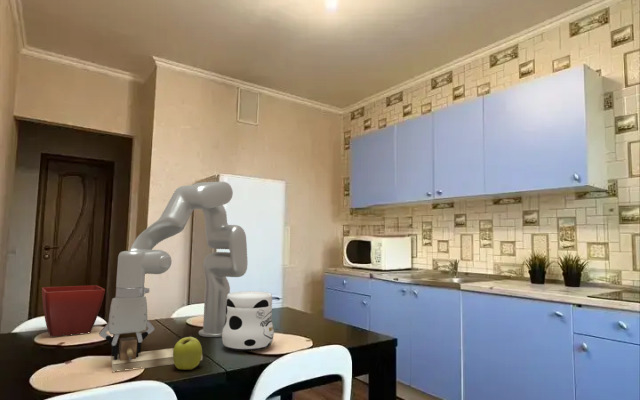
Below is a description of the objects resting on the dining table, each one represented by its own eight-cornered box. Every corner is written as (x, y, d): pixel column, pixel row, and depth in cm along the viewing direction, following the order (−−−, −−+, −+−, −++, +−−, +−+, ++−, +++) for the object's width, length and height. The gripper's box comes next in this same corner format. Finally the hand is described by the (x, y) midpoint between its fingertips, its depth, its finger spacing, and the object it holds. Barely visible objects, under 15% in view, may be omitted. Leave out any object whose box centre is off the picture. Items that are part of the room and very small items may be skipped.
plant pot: (93, 325, 163) (96, 284, 164) (102, 334, 148) (105, 289, 150) (37, 331, 151) (41, 287, 153) (40, 341, 136) (45, 292, 138)
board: (194, 352, 126) (194, 345, 126) (202, 360, 117) (202, 353, 117) (110, 362, 113) (111, 355, 114) (112, 372, 105) (113, 364, 105)
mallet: (133, 354, 115) (134, 336, 116) (138, 362, 107) (139, 344, 108) (118, 356, 113) (119, 338, 114) (121, 365, 105) (123, 346, 106)
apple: (192, 357, 116) (198, 326, 115) (203, 372, 110) (209, 339, 109) (165, 362, 111) (171, 330, 110) (175, 378, 105) (181, 344, 104)
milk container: (281, 351, 128) (282, 295, 130) (229, 358, 120) (232, 298, 122) (262, 339, 143) (264, 290, 145) (215, 344, 135) (218, 292, 137)
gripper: (158, 290, 121) (155, 350, 120) (96, 293, 113) (91, 358, 111) (162, 293, 115) (159, 356, 113) (97, 296, 106) (92, 365, 104)
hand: (126, 356), depth 112 cm, fingers open, 4 cm apart
